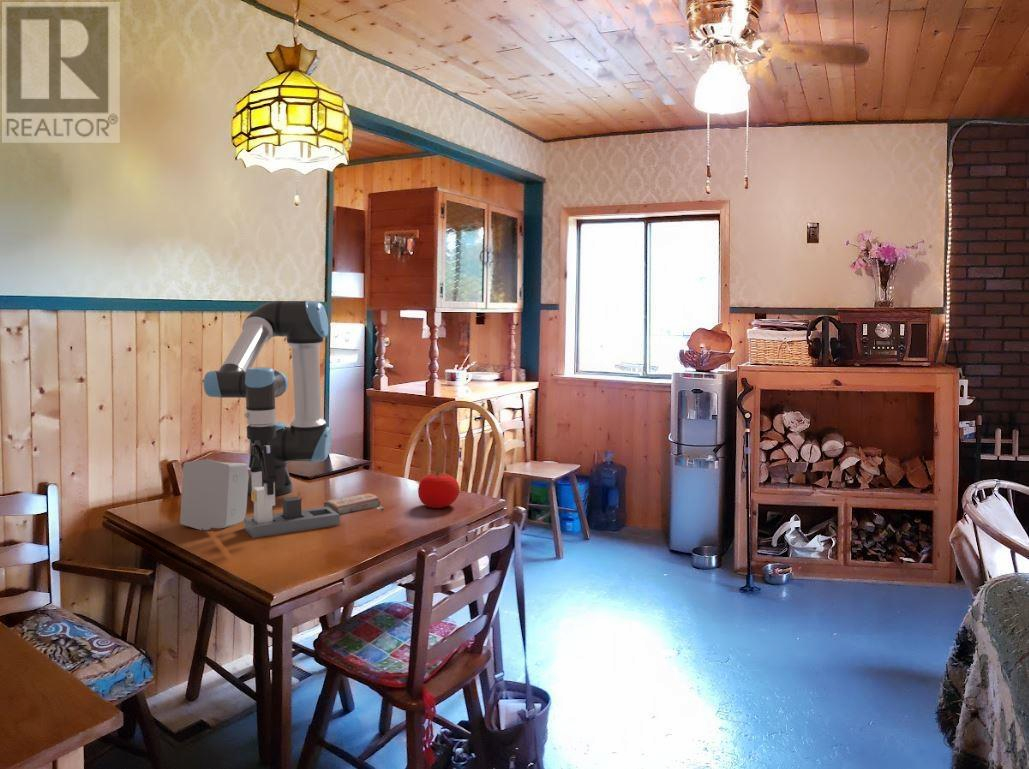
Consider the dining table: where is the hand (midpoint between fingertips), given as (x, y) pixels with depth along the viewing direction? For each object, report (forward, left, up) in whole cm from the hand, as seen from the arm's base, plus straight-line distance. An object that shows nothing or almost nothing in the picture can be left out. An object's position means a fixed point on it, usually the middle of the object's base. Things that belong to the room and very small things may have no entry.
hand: (263, 500), depth 209 cm
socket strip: (0, +8, -9) cm, 12 cm away
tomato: (-2, +55, -10) cm, 56 cm away
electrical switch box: (-18, -8, -10) cm, 22 cm away
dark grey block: (0, +8, -8) cm, 12 cm away
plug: (0, 0, -8) cm, 9 cm away
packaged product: (-10, +29, -10) cm, 32 cm away
